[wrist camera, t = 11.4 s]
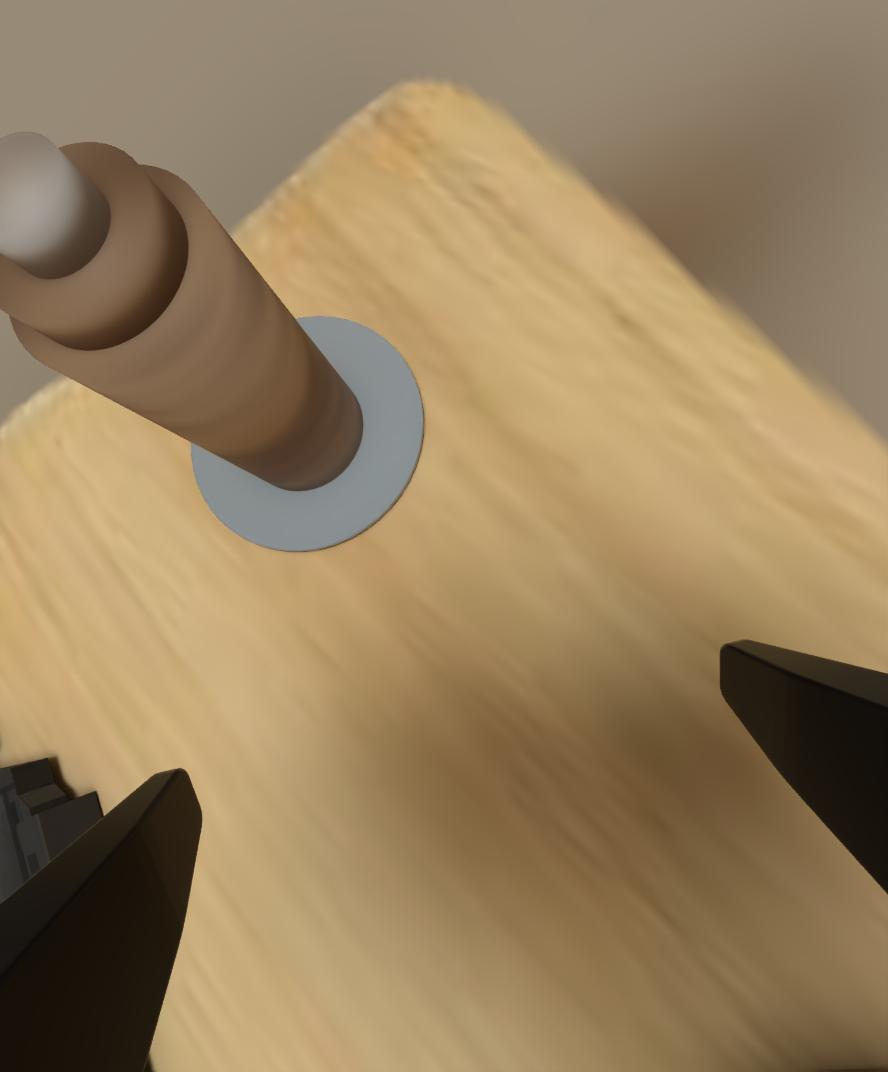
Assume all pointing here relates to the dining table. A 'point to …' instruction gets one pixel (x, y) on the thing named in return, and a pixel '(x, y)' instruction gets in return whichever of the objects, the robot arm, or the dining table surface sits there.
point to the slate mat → (365, 481)
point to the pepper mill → (164, 312)
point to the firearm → (37, 821)
